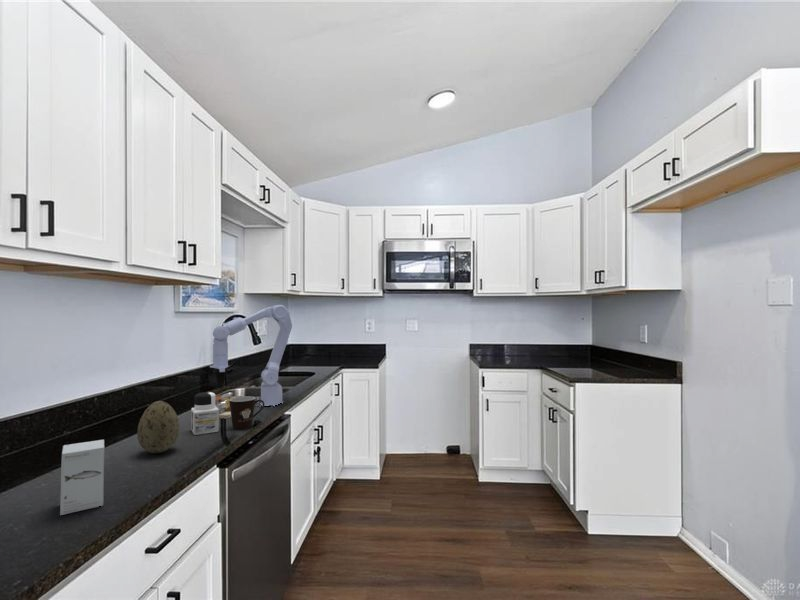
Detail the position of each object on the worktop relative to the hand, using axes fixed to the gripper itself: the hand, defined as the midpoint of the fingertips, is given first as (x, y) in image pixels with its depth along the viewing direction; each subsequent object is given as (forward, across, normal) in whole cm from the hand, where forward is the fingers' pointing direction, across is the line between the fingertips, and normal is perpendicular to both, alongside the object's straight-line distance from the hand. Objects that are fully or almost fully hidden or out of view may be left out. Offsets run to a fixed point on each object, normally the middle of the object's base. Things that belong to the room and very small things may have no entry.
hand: (220, 387), depth 175 cm
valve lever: (+3, +11, -1) cm, 11 cm away
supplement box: (+10, +78, -35) cm, 86 cm away
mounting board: (+9, +7, +2) cm, 12 cm away
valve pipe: (+8, +7, +2) cm, 11 cm away
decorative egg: (+10, +48, -21) cm, 53 cm away
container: (+10, +30, -8) cm, 33 cm away
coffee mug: (+10, +32, +6) cm, 34 cm away
